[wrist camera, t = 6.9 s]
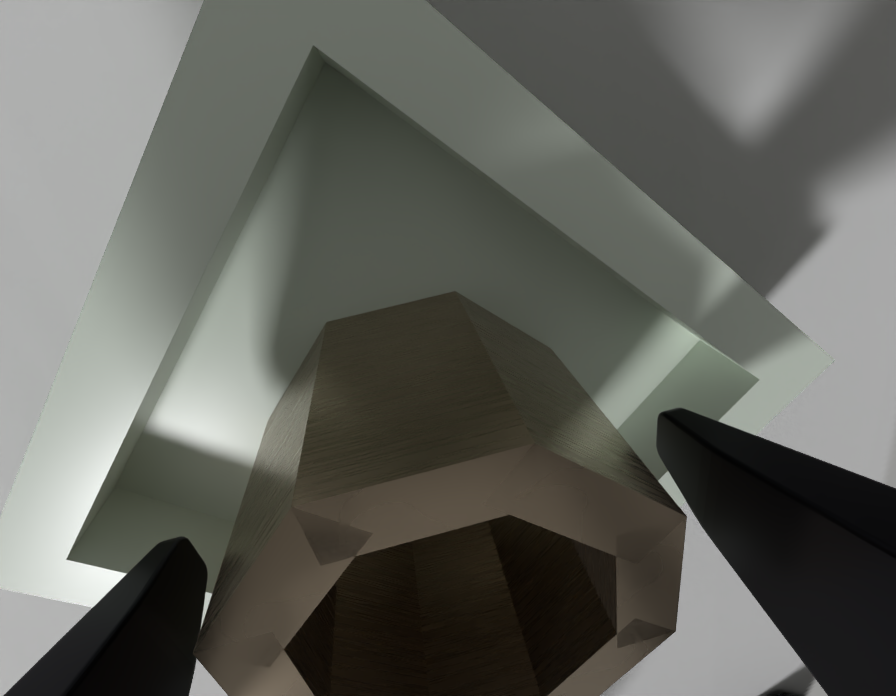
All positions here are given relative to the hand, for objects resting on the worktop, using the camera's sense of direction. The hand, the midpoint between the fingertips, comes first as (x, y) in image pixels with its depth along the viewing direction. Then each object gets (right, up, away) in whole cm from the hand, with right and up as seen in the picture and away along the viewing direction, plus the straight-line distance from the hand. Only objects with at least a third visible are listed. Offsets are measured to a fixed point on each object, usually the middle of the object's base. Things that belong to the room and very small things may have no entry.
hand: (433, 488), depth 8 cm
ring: (0, +1, +2) cm, 3 cm away
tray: (0, +1, +3) cm, 3 cm away
